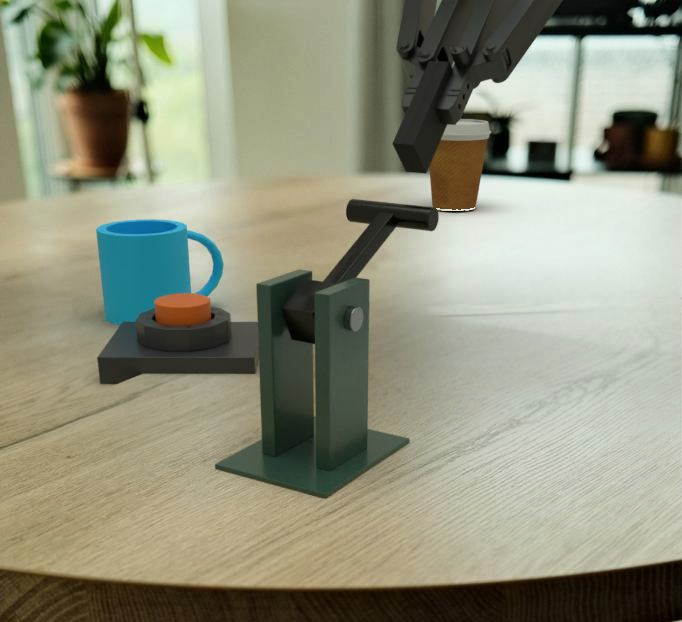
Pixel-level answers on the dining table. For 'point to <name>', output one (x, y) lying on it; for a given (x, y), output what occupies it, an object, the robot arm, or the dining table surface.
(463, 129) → the disposable coffee cup
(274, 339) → the green crank press stand
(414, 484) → the dining table surface
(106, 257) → the mug
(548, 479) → the dining table surface
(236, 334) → the control block
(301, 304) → the switch lever
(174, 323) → the button
